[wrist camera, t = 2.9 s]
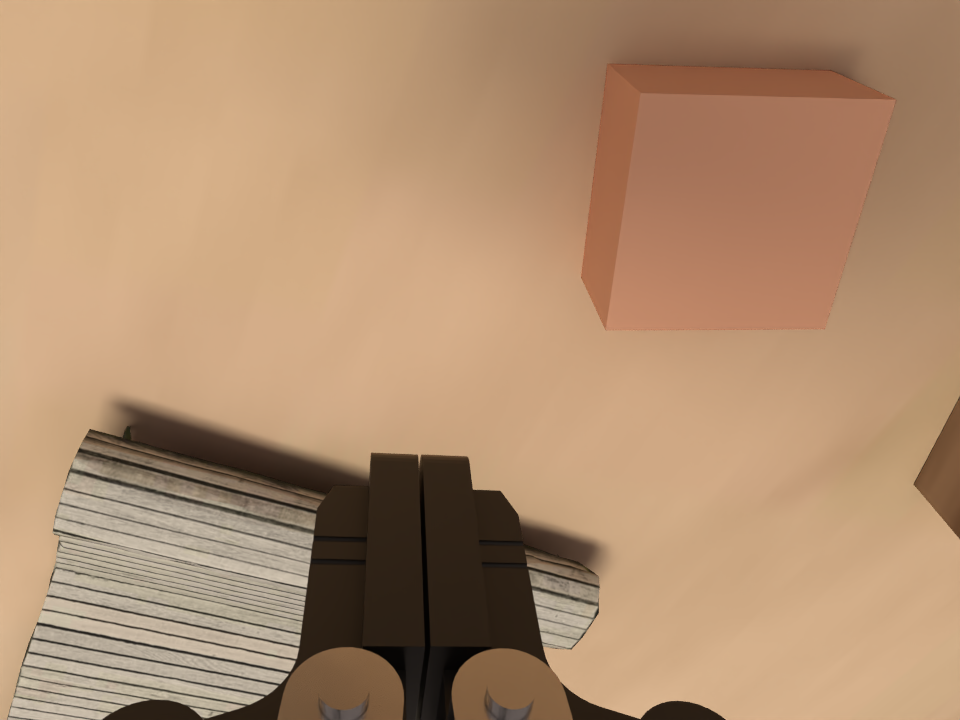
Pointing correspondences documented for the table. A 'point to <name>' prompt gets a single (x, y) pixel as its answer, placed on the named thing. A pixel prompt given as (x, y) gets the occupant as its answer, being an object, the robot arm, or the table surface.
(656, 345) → the table surface
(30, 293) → the table surface
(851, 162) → the terracotta block
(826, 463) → the table surface
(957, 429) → the walnut board
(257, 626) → the mat
